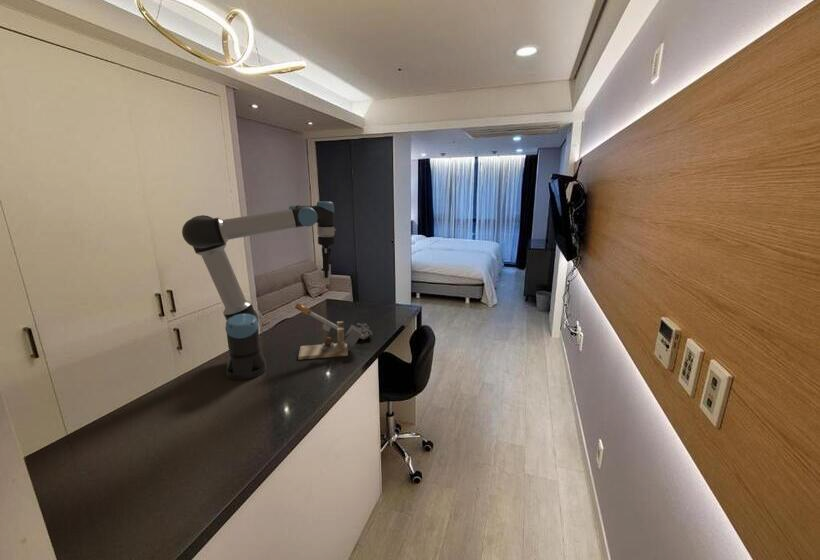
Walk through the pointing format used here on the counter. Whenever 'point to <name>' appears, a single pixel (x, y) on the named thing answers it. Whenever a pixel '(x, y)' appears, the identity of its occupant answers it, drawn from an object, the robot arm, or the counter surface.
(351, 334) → the lever
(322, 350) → the tan angle plate
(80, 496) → the counter surface
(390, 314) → the counter surface
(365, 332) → the rock
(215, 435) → the counter surface
